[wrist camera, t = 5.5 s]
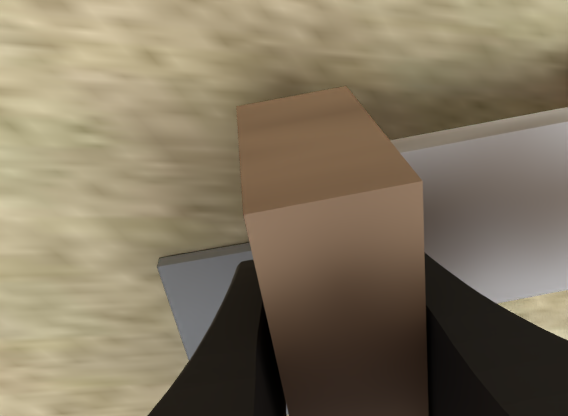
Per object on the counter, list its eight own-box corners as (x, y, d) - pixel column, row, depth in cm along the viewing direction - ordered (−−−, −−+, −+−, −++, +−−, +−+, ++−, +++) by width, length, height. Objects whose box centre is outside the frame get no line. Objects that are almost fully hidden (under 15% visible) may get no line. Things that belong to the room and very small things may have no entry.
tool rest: (486, 371, 24) (491, 380, 24) (212, 416, 25) (211, 427, 24) (495, 200, 20) (502, 208, 19) (159, 258, 20) (156, 266, 19)
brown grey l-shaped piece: (686, 285, 15) (871, 425, 11) (289, 361, 15) (316, 535, 11) (767, 7, 11) (1105, 51, 7) (236, 106, 11) (243, 214, 7)
